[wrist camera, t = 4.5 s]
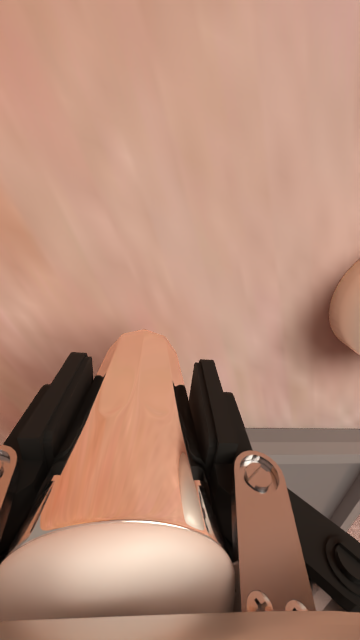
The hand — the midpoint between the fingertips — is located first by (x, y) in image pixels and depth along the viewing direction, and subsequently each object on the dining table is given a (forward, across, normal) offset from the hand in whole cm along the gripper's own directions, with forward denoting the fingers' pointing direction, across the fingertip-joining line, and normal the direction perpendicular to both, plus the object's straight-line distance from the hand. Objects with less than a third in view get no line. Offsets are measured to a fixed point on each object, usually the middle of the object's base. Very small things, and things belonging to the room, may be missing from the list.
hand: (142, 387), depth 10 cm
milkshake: (+2, 0, 0) cm, 2 cm away
